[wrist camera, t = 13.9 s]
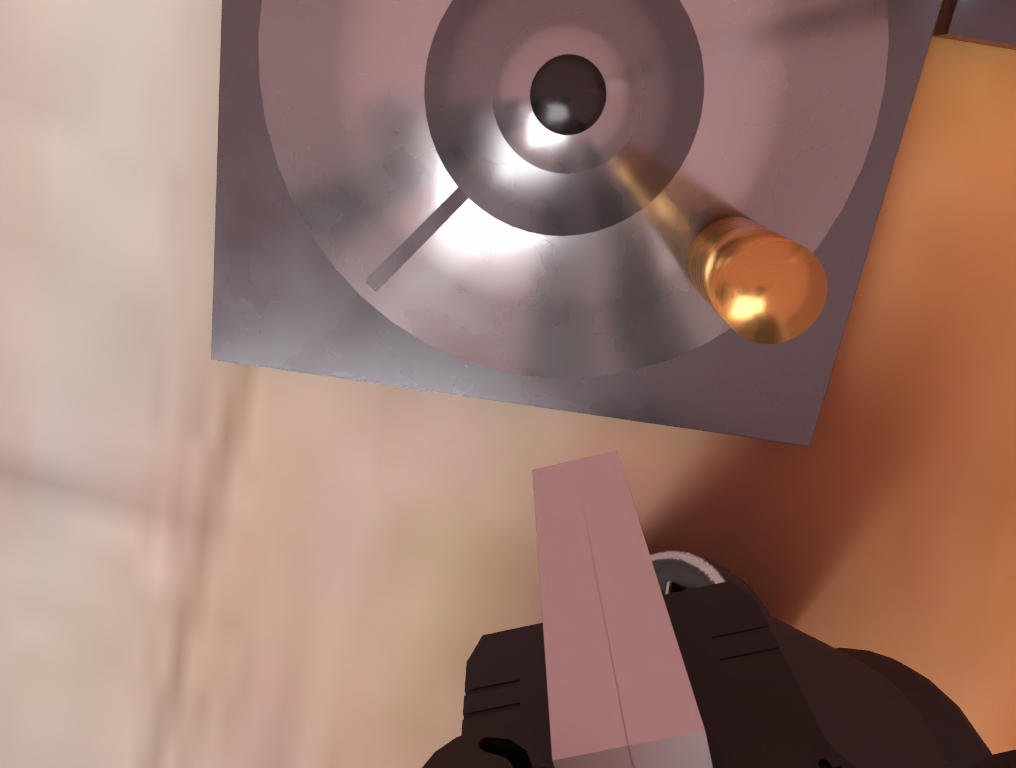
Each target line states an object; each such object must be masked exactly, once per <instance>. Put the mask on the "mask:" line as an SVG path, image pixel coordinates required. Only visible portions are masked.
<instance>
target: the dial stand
mask: <svg viewBox="0 0 1016 768" xmlns="http://www.w3.org/2000/svg"><path fill="white" fill-rule="evenodd" d="M933 36H935V37H941V38H947V39H953V40H959V41H965V42H972V43H978V44H984V45H990V46H996V47H1002V48H1008V49H1014V50H1016V0H944V2H943V5H942V8H941V12H940V15H939V18H938V22H937V25H936V28H935V32H934V35H933Z"/></svg>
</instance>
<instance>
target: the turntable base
mask: <svg viewBox="0 0 1016 768" xmlns="http://www.w3.org/2000/svg"><path fill="white" fill-rule="evenodd" d="M261 4H262V0H222V21H221V54H220V87H219V120H218V153H217V186H216V219H215V252H214V285H213V319H212V352H211V360H218V361H225V362H232V363H239V364H246V365H253V366H260V367H266V368H273V369H280V370H287V371H294V372H301V373H308V374H315V375H322V376H329V377H336V378H343V379H349V380H356V381H363V382H370V383H377V384H384V385H391V386H398V387H405V388H412V389H419V390H425V391H432V392H439V393H446V394H453V395H460V396H467V397H474V398H481V399H488V400H495V401H501V402H508V403H515V404H522V405H529V406H536V407H543V408H550V409H557V410H564V411H571V412H578V413H584V414H591V415H598V416H605V417H612V418H619V419H626V420H633V421H640V422H647V423H654V424H660V425H667V426H674V427H681V428H688V429H695V430H702V431H709V432H716V433H723V434H730V435H737V436H743V437H750V438H757V439H764V440H771V441H778V442H785V443H792V444H799V445H806V446H810V443H811V440H812V437H813V433H814V430H815V427H816V423H817V420H818V417H819V413H820V410H821V407H822V403H823V400H824V396H825V393H826V390H827V386H828V383H829V380H830V376H831V373H832V370H833V366H834V363H835V360H836V356H837V353H838V349H839V346H840V343H841V339H842V336H843V333H844V329H845V326H846V323H847V319H848V316H849V313H850V309H851V306H852V302H853V299H854V296H855V292H856V289H857V286H858V282H859V279H860V276H861V272H862V269H863V266H864V262H865V259H866V255H867V252H868V249H869V245H870V242H871V239H872V235H873V232H874V229H875V225H876V222H877V219H878V215H879V212H880V208H881V205H882V202H883V198H884V195H885V192H886V188H887V185H888V182H889V178H890V175H891V172H892V168H893V165H894V161H895V158H896V155H897V151H898V148H899V145H900V141H901V138H902V135H903V131H904V128H905V125H906V121H907V118H908V114H909V111H910V108H911V104H912V101H913V98H914V94H915V91H916V88H917V84H918V81H919V78H920V74H921V71H922V67H923V64H924V61H925V57H926V54H927V51H928V47H929V44H930V41H931V37H932V34H933V31H934V27H935V24H936V20H937V17H938V14H939V10H940V7H941V4H942V0H888V32H889V45H888V56H887V67H886V78H885V87H884V92H883V97H882V101H881V106H880V111H879V115H878V120H877V124H876V129H875V132H874V135H873V138H872V141H871V144H870V147H869V149H868V152H867V155H866V158H865V161H864V164H863V167H862V170H861V172H860V174H859V176H858V178H857V180H856V182H855V184H854V186H853V188H852V191H851V193H850V195H849V197H848V199H847V201H846V203H845V205H844V207H843V209H842V210H841V212H840V214H839V215H838V217H837V218H836V220H835V221H834V223H833V225H832V226H831V228H830V229H829V231H828V233H827V234H826V236H825V237H824V239H823V240H822V242H821V243H820V245H819V246H818V247H817V248H816V249H815V251H814V252H813V254H814V255H815V256H816V257H817V258H818V259H819V261H820V262H821V264H822V266H823V268H824V270H825V273H826V277H827V286H828V288H827V297H826V301H825V304H824V307H823V309H822V311H821V313H820V315H819V316H818V318H817V319H816V321H815V322H814V323H813V324H812V325H811V326H810V327H809V328H808V329H807V330H806V331H805V332H803V333H802V334H801V335H799V336H797V337H795V338H793V339H791V340H789V341H785V342H782V343H777V344H761V343H756V342H753V341H750V340H747V339H745V338H744V337H742V336H741V335H739V334H738V333H737V332H736V331H734V330H733V329H732V328H731V329H729V330H727V331H726V332H724V333H722V334H721V335H719V336H717V337H716V338H714V339H712V340H711V341H709V342H707V343H705V344H704V345H702V346H699V347H697V348H695V349H693V350H690V351H688V352H686V353H683V354H681V355H679V356H677V357H674V358H672V359H670V360H667V361H664V362H660V363H657V364H654V365H650V366H647V367H644V368H640V369H637V370H634V371H628V372H622V373H617V374H611V375H605V376H599V377H583V378H562V379H560V378H547V377H534V376H523V375H519V374H514V373H509V372H504V371H499V370H494V369H489V368H486V367H483V366H480V365H477V364H474V363H471V362H468V361H465V360H462V359H459V358H456V357H454V356H452V355H450V354H448V353H446V352H444V351H441V350H439V349H437V348H435V347H433V346H431V345H429V344H427V343H425V342H423V341H421V340H419V339H418V338H416V337H415V336H413V335H412V334H410V333H409V332H407V331H406V330H404V329H402V328H401V327H399V326H398V325H396V324H395V323H393V322H392V321H390V320H389V319H388V318H387V317H385V316H384V315H383V314H382V313H381V312H379V311H378V310H377V309H376V308H375V307H373V306H372V305H371V304H370V303H369V302H367V301H366V300H365V299H364V298H363V297H361V295H360V294H359V293H358V292H357V291H356V290H355V289H354V288H353V287H352V286H351V285H350V284H349V283H348V282H347V280H346V279H345V278H344V277H343V276H342V275H341V274H340V273H339V272H338V271H337V270H336V269H335V267H334V266H333V265H332V263H331V262H330V261H329V259H328V258H327V256H326V255H325V254H324V252H323V251H322V250H321V248H320V247H319V245H318V244H317V243H316V241H315V240H314V239H313V237H312V236H311V234H310V232H309V230H308V228H307V227H306V225H305V223H304V221H303V219H302V218H301V216H300V214H299V212H298V210H297V209H296V207H295V205H294V203H293V201H292V199H291V197H290V194H289V192H288V189H287V187H286V184H285V182H284V179H283V177H282V174H281V172H280V170H279V167H278V165H277V162H276V158H275V154H274V151H273V147H272V143H271V140H270V136H269V132H268V129H267V125H266V121H265V114H264V107H263V100H262V93H261V86H260V80H259V38H258V35H259V25H260V14H261Z"/></svg>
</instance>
